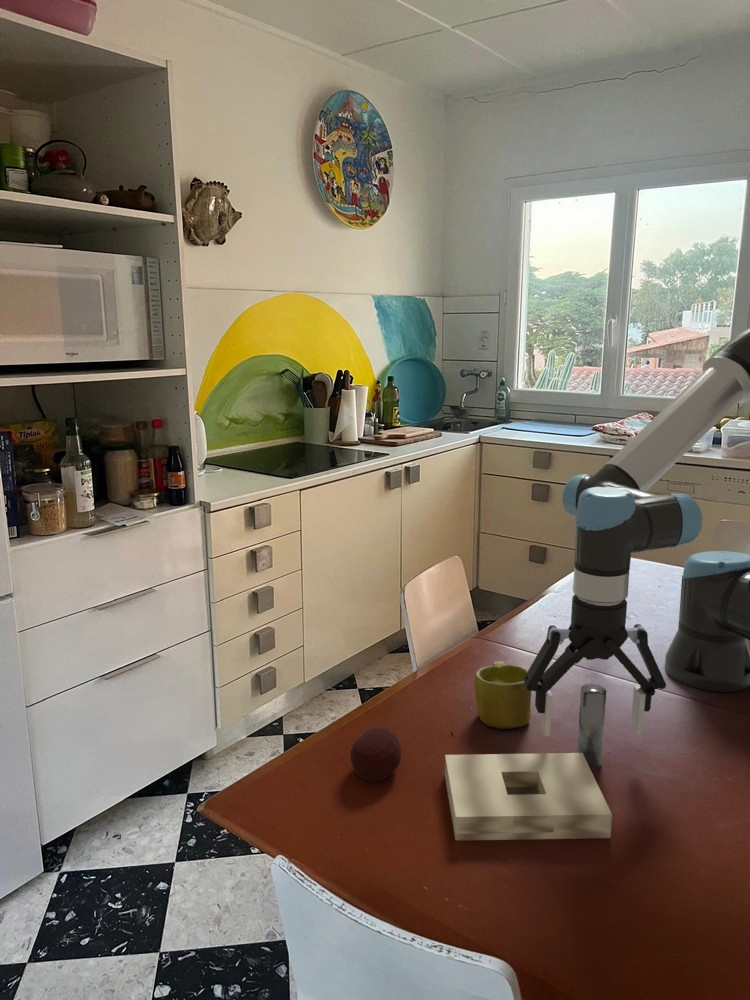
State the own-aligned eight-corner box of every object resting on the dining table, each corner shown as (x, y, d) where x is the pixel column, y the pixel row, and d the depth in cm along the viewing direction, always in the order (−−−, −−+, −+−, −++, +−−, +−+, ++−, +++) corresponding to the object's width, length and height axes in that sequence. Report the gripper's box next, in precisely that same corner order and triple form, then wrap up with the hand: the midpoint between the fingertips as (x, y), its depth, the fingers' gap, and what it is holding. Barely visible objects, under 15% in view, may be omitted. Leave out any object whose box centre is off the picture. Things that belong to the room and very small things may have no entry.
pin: (597, 755, 117) (602, 683, 114) (604, 768, 114) (609, 695, 111) (573, 755, 117) (578, 684, 114) (580, 769, 114) (584, 696, 111)
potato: (341, 785, 111) (340, 747, 109) (366, 748, 120) (365, 712, 118) (389, 795, 108) (388, 756, 107) (410, 757, 117) (410, 720, 116)
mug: (542, 729, 121) (524, 668, 121) (479, 741, 123) (462, 681, 124) (545, 706, 133) (529, 650, 133) (488, 717, 135) (473, 662, 136)
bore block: (581, 774, 112) (582, 752, 112) (610, 838, 99) (612, 814, 98) (444, 776, 112) (445, 754, 111) (455, 840, 99) (455, 816, 98)
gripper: (676, 586, 113) (665, 716, 118) (507, 588, 112) (502, 718, 118) (698, 605, 105) (684, 743, 111) (516, 607, 105) (511, 745, 110)
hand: (590, 730), depth 114 cm, fingers open, 13 cm apart
